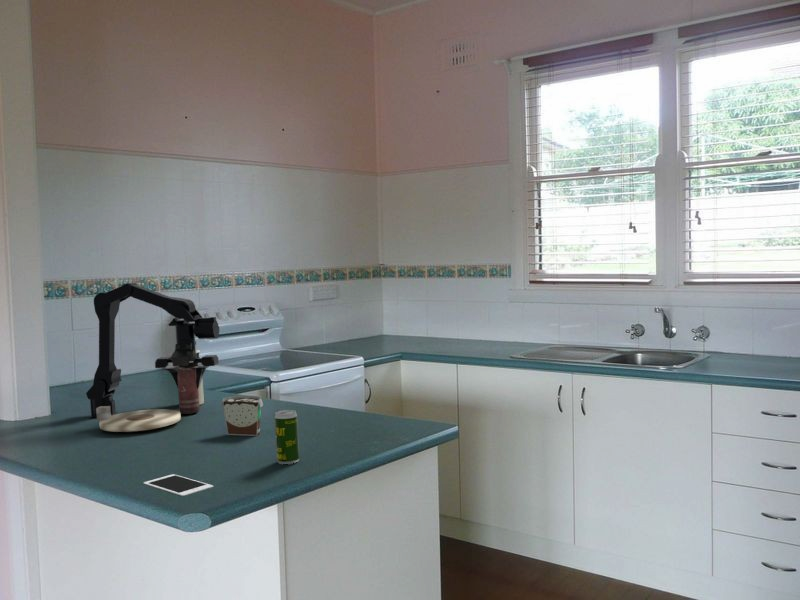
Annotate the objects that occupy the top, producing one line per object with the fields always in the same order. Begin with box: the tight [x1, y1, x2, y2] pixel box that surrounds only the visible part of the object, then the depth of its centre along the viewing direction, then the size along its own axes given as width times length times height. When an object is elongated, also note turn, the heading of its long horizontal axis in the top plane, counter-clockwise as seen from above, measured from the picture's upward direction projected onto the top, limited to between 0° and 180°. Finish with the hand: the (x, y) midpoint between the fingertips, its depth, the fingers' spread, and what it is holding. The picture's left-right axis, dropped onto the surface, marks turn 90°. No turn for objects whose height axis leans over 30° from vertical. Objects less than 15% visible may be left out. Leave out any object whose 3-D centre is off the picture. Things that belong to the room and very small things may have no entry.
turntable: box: [96, 406, 182, 433], centre depth 236 cm, size 24×23×5 cm
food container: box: [220, 395, 264, 437], centre depth 222 cm, size 12×6×10 cm, turn 71°
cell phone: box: [143, 473, 214, 497], centre depth 175 cm, size 8×16×1 cm, turn 48°
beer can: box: [274, 409, 300, 465], centre depth 189 cm, size 5×5×12 cm
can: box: [177, 367, 200, 415], centre depth 251 cm, size 6×6×14 cm
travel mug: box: [179, 349, 205, 406], centre depth 266 cm, size 8×8×18 cm
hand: (188, 388), depth 251 cm, fingers closed on can, 6 cm apart
